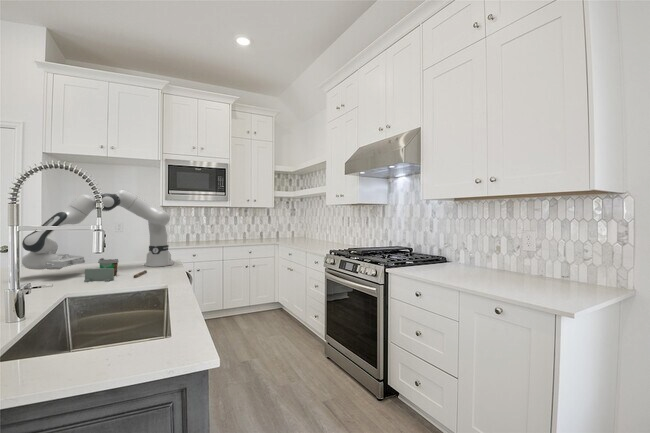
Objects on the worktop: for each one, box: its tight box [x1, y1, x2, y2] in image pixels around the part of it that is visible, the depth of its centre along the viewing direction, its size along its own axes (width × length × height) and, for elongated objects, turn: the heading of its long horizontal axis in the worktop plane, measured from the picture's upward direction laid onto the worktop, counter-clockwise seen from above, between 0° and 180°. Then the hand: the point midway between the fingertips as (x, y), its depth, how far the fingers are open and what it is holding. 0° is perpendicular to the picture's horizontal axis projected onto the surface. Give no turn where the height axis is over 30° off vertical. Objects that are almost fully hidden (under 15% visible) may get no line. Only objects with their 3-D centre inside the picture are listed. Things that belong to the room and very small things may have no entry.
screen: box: [84, 268, 115, 283], centre depth 174 cm, size 4×14×6 cm, turn 99°
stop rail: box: [133, 270, 148, 279], centre depth 190 cm, size 16×1×2 cm, turn 9°
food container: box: [97, 257, 119, 277], centre depth 187 cm, size 12×6×10 cm, turn 73°
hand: (83, 261), depth 185 cm, fingers closed
